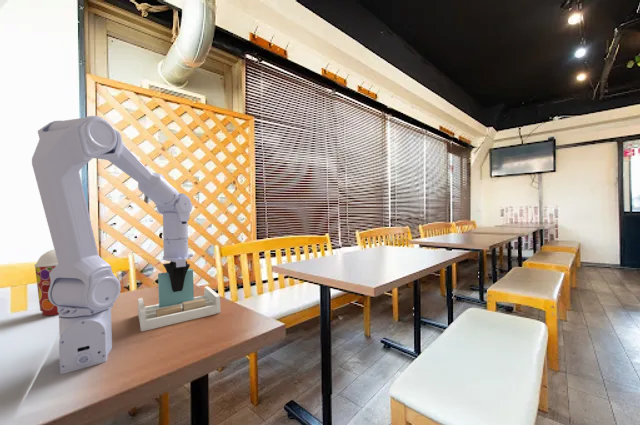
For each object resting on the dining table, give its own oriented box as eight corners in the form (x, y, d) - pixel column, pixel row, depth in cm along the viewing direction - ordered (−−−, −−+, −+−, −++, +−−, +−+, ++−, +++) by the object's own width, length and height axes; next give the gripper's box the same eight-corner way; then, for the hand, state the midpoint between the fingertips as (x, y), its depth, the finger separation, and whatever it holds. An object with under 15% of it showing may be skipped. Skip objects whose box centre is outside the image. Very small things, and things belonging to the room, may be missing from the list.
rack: (220, 315, 69) (220, 296, 69) (141, 335, 59) (140, 312, 59) (208, 303, 78) (208, 286, 78) (138, 318, 68) (137, 298, 68)
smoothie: (72, 304, 80) (70, 237, 79) (83, 309, 75) (81, 238, 75) (31, 314, 72) (29, 240, 72) (41, 320, 68) (39, 241, 68)
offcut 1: (181, 319, 65) (181, 307, 65) (157, 325, 62) (157, 312, 62) (179, 317, 66) (179, 304, 66) (156, 322, 63) (156, 309, 63)
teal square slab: (193, 301, 72) (193, 269, 72) (159, 308, 68) (158, 274, 68) (192, 299, 74) (191, 268, 74) (158, 306, 69) (158, 273, 69)
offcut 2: (205, 313, 68) (205, 300, 68) (184, 318, 65) (183, 304, 65) (203, 311, 70) (203, 298, 70) (182, 316, 67) (182, 302, 67)
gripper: (198, 239, 67) (199, 293, 67) (187, 236, 79) (188, 282, 79) (166, 242, 63) (167, 299, 63) (159, 237, 75) (160, 286, 75)
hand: (176, 290), depth 71 cm, fingers closed on teal square slab, 2 cm apart
